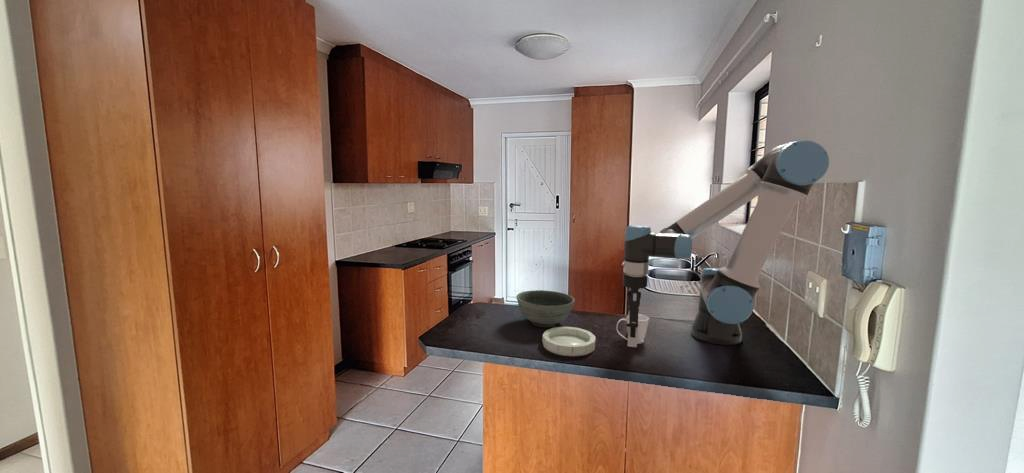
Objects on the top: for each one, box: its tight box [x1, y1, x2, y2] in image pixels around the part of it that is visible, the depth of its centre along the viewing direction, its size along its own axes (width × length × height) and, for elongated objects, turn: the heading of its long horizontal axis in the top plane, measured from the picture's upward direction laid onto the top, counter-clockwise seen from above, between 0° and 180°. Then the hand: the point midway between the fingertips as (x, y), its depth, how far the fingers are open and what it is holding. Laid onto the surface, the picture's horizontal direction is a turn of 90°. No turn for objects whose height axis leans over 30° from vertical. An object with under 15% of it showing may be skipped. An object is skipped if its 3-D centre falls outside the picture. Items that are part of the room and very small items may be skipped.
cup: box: [615, 313, 650, 345], centre depth 131 cm, size 7×10×8 cm
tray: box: [542, 326, 597, 357], centre depth 127 cm, size 16×16×3 cm
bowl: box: [515, 289, 576, 328], centre depth 146 cm, size 21×21×10 cm
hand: (631, 338), depth 132 cm, fingers open, 13 cm apart
